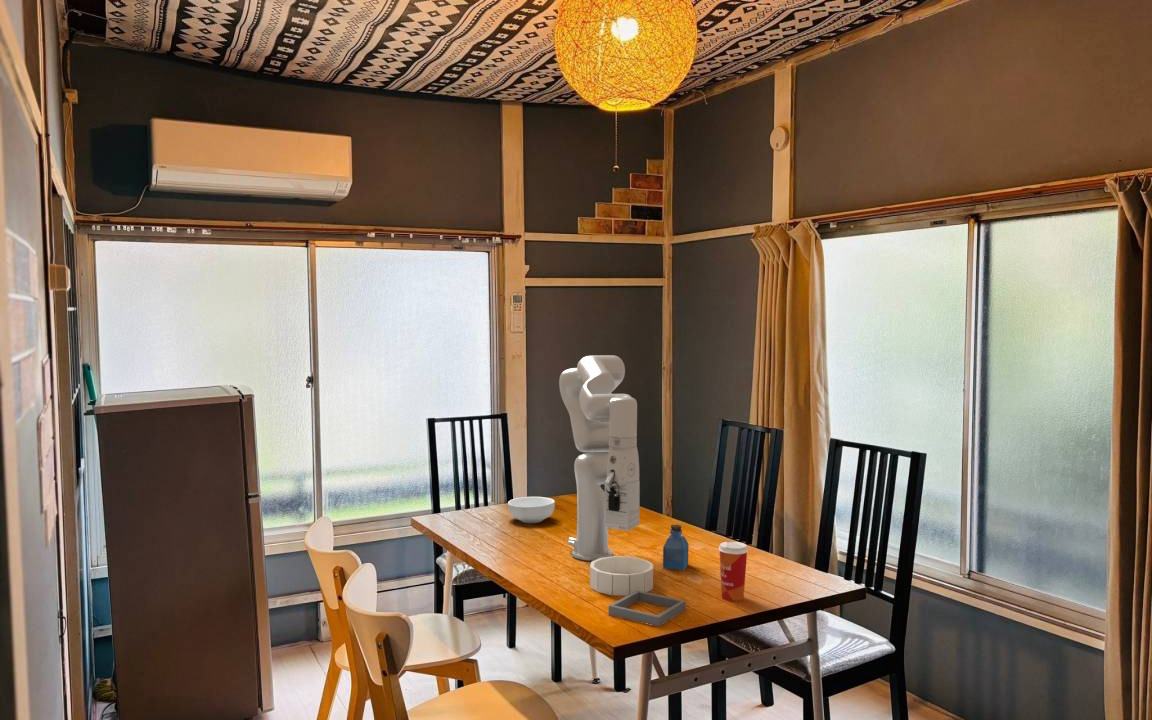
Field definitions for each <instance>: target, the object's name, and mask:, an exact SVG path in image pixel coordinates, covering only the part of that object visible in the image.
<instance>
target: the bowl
mask: <svg viewBox="0 0 1152 720" xmlns="http://www.w3.org/2000/svg"><path fill="white" fill-rule="evenodd" d="M589 587H590V588H591V589H593V590H594V591H596V593H601V594H606V595H609V596H621V597H622V596H624V597H626V596H628V595H630V594H631V593H633V592H635V591H637V590H638V591H642V592H647V593H649V592H650V591H652V590H653V589H654V563H652V562H650V561H648V560H647V559H644V558H641V557H635V556H624V555H622V556H621V555H613V556H612V557H604V558H599V559H597V560H594V561H590V566H589Z"/></svg>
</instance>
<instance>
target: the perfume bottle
mask: <svg viewBox="0 0 1152 720" xmlns="http://www.w3.org/2000/svg"><path fill="white" fill-rule="evenodd" d="M682 527H683V526H682V525H680V524H671V525H670V531H669V534H670V535H669V536H668V537H667V539H666V541H665V543H664V546H663V547H662V569H665V568H667V569H666V570H675V569H677V571H685V570H686V568H687V567H688V566H689V542H688V540H687V539H686V537H685V536H684V535H682V534H683V529H682ZM687 565H688V566H687Z"/></svg>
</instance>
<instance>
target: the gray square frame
mask: <svg viewBox="0 0 1152 720" xmlns="http://www.w3.org/2000/svg"><path fill="white" fill-rule="evenodd" d="M636 602H643V603H647V604H653V605H657V606H660V605H661V606H662V607H666V608H667V609H666V610H664V611H662V612H660V613H659V614H657V615H656V614H652V613H649V612H644V611H640V610H635V609H631V608H628V607H630V606H632V605H633V604H635V603H636ZM686 605H687V601H686V600H682V599H678V598H674V597H668V596H666V595H665V596H664V595H659V594H657V593H651V592H642V591H638V590H637V591H635V592H633V593H631V594H630V595H628V596H624V597H622V598H621V599H619V600H616V601H615V602H613V603H611V604H609V605H608V615H610V616H612V617H613V616H614V617H617V618H622V619H625V620H629V621H634V622H637V623H641V622H643V623H642V624H645V623H648V624H647V625H649V624H652V625H651V626H654V625H655V627H658V626H659V627H660V625H661V624H662V625H664V624H665V623H667V622H669V621H670V620H672V619H673V618H675V617H677V616H678V615H680V614H681V613H683V612H684V611H686V609H687V606H686ZM668 620H669V621H668ZM663 623H664V624H663ZM662 625H661V626H662Z"/></svg>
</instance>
